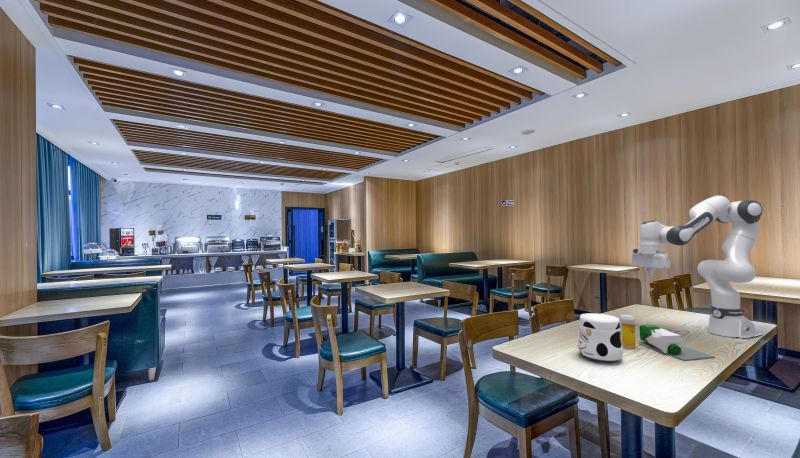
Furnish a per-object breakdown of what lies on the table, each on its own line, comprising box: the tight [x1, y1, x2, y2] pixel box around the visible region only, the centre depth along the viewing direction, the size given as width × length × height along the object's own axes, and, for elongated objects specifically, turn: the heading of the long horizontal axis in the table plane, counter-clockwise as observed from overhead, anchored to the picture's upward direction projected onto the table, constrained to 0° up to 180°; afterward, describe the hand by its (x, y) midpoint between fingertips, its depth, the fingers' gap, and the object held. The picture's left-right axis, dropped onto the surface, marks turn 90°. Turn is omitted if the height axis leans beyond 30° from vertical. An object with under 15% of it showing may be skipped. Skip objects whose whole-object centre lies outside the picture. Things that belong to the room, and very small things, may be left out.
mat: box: [638, 342, 716, 362], centre depth 158 cm, size 16×22×1 cm
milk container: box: [577, 312, 624, 363], centre depth 151 cm, size 17×17×18 cm
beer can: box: [619, 314, 636, 350], centre depth 164 cm, size 6×6×15 cm
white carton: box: [638, 324, 683, 355], centre depth 160 cm, size 9×9×20 cm
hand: (650, 275), depth 185 cm, fingers closed
